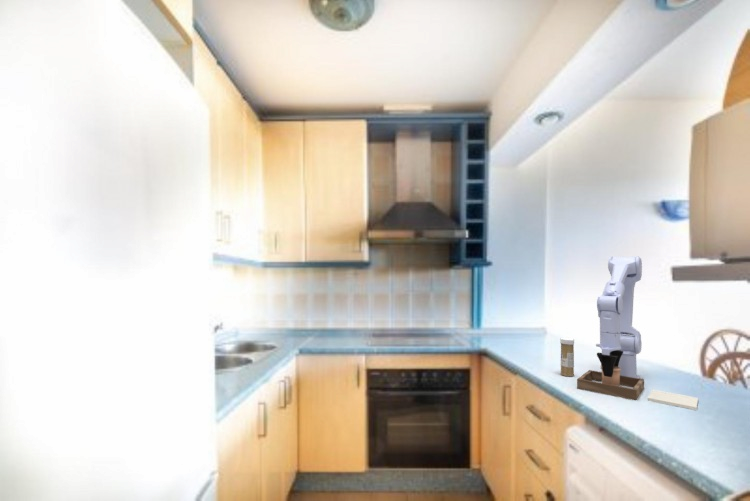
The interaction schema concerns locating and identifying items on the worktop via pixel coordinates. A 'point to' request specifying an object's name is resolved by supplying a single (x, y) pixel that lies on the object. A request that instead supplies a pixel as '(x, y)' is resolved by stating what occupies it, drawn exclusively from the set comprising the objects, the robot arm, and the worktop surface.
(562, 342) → the sprinkles bottle
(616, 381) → the terracotta pot
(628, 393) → the box
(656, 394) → the ceramic tile
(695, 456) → the worktop surface
